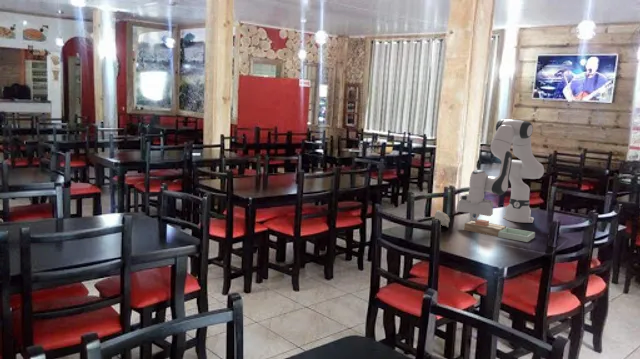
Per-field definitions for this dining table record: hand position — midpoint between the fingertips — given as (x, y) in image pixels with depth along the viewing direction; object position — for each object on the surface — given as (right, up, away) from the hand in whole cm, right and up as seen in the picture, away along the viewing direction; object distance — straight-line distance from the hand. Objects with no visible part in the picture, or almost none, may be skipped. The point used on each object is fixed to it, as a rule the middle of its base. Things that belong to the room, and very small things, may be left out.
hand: (473, 221), depth 321 cm
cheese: (-23, -5, -4) cm, 24 cm away
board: (+5, -6, -3) cm, 9 cm away
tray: (+20, -8, -14) cm, 25 cm away
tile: (+4, -2, -3) cm, 5 cm away
